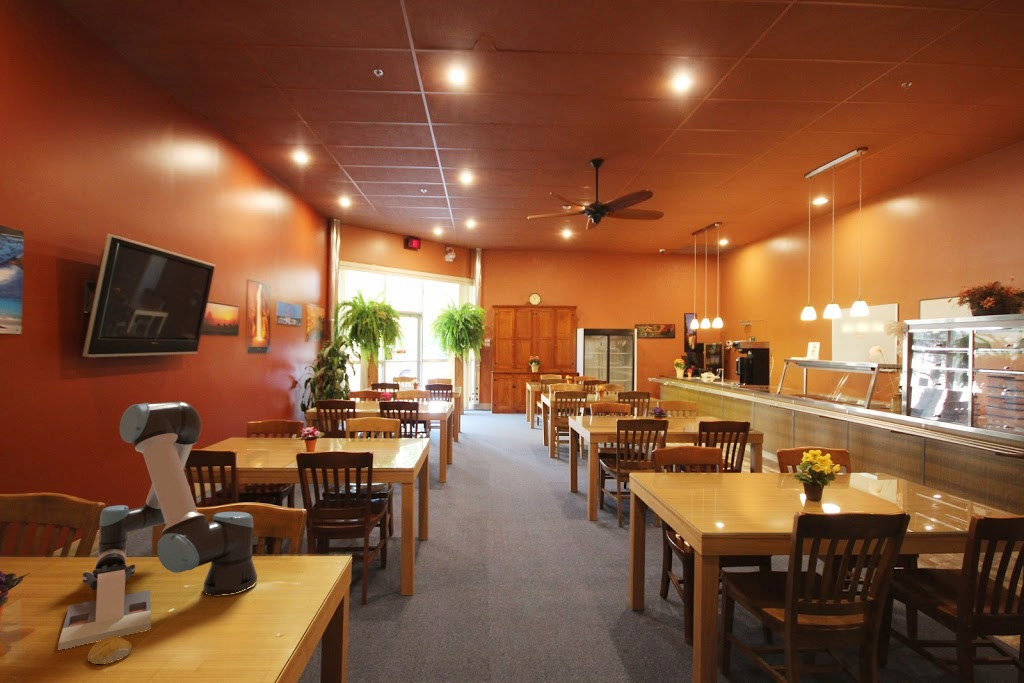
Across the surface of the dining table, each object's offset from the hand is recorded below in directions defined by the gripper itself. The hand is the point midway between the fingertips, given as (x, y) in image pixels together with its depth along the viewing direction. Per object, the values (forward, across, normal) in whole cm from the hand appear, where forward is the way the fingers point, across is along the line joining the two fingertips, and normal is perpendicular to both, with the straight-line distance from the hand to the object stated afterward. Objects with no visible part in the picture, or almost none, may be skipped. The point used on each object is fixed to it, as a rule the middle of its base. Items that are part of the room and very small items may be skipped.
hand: (106, 592), depth 147 cm
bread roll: (+23, -2, -8) cm, 24 cm away
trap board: (-3, -1, -7) cm, 8 cm away
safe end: (+9, -1, -7) cm, 12 cm away
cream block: (+3, -1, -5) cm, 6 cm away
